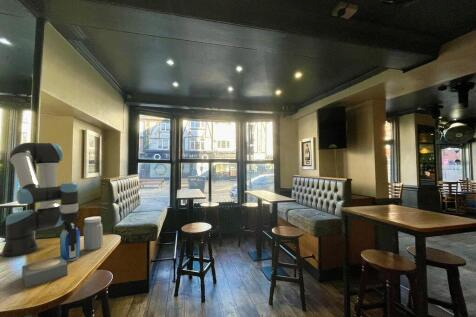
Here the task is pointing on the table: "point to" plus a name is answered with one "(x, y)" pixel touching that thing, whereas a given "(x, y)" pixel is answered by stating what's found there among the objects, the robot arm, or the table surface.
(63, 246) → the beer can
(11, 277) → the table surface
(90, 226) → the jar
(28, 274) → the riser
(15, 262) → the table surface
